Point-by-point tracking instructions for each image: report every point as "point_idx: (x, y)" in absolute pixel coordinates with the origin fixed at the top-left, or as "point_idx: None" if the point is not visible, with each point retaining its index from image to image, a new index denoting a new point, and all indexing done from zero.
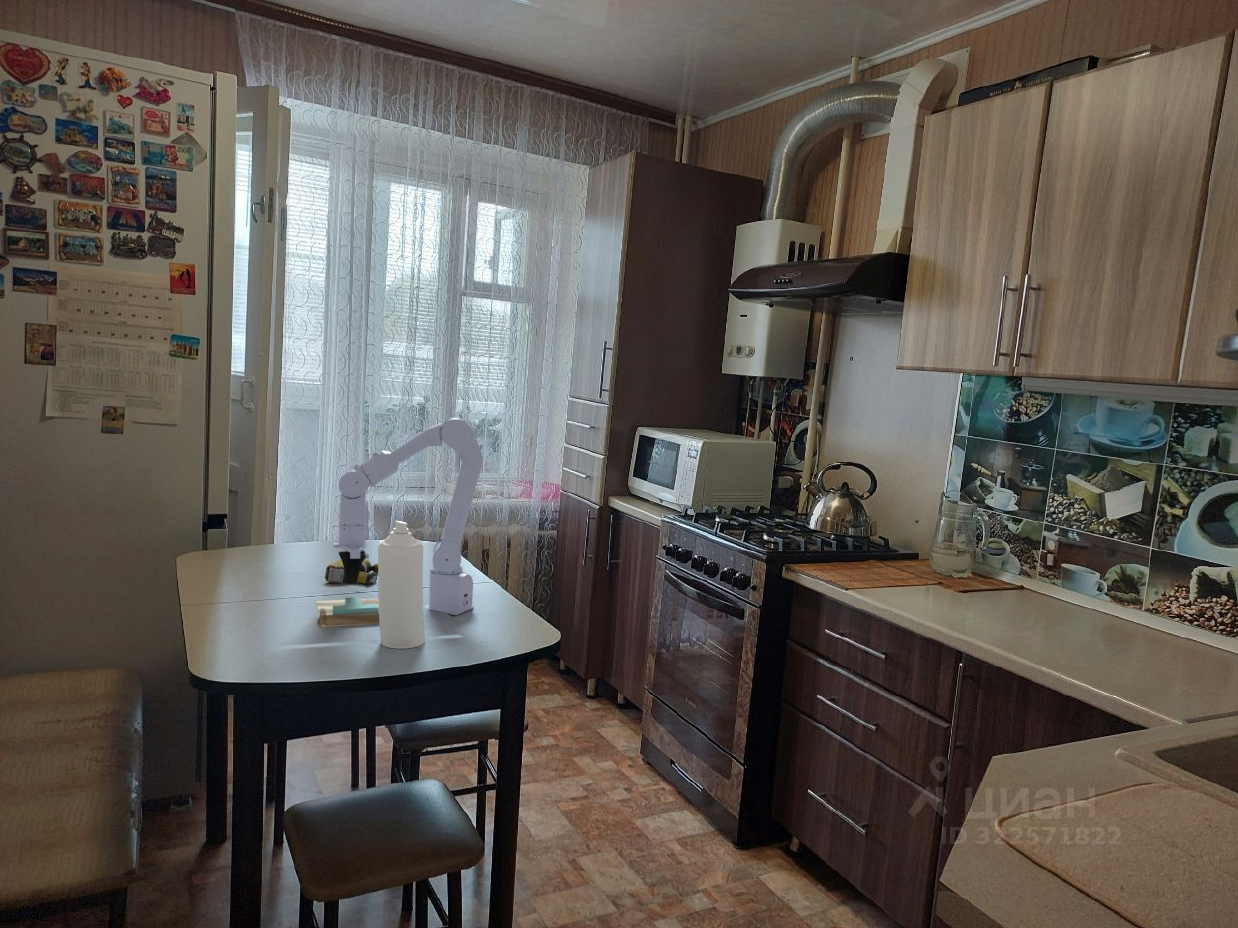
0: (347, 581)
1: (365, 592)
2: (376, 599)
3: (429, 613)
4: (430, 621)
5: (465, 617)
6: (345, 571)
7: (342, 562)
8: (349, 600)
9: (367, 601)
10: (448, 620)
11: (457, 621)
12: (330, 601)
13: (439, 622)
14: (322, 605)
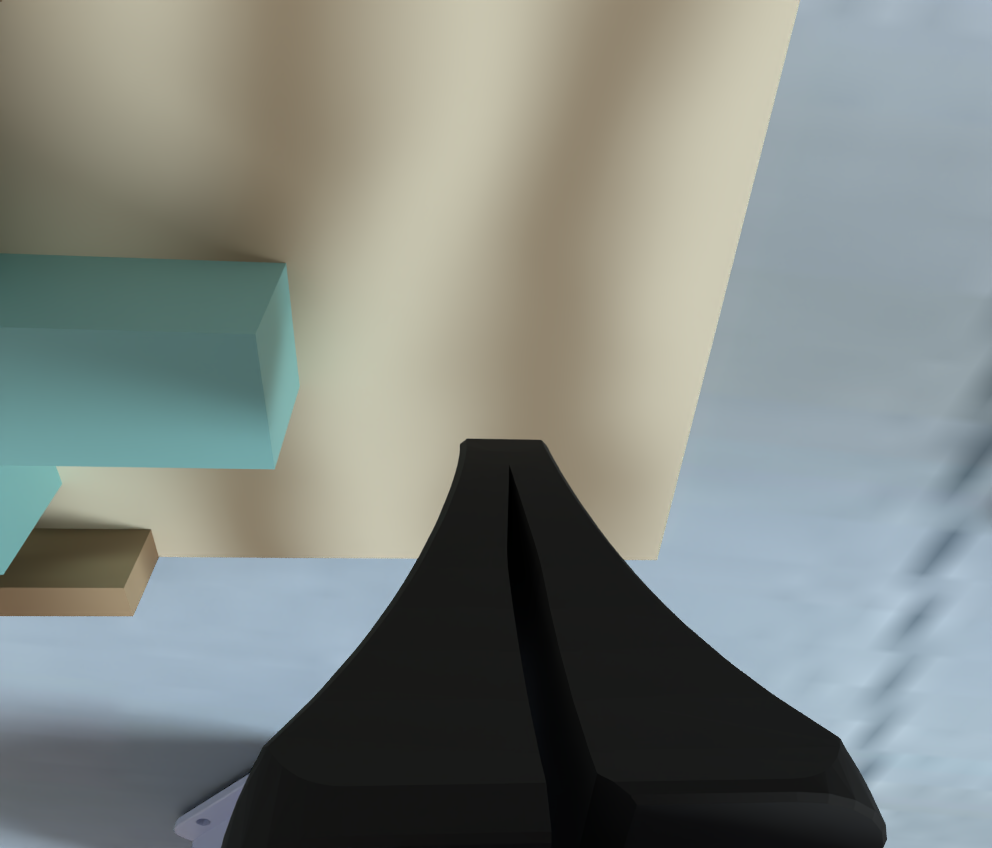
0: (456, 468)
1: (952, 486)
2: (624, 539)
3: (249, 737)
4: (59, 723)
5: (154, 841)
6: (418, 558)
7: (593, 640)
8: (121, 363)
9: (584, 476)
10: (88, 786)
11: (69, 812)
12: (712, 160)
13: (39, 753)
14: (565, 44)
